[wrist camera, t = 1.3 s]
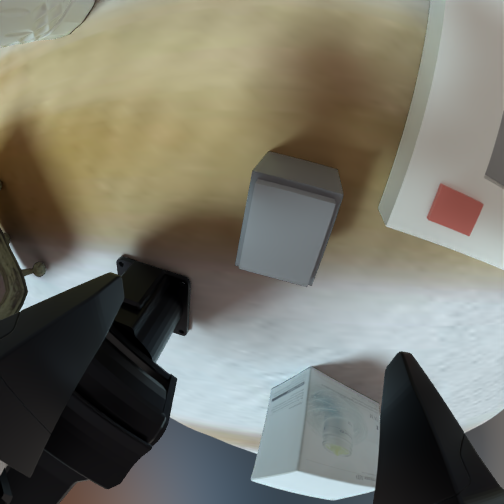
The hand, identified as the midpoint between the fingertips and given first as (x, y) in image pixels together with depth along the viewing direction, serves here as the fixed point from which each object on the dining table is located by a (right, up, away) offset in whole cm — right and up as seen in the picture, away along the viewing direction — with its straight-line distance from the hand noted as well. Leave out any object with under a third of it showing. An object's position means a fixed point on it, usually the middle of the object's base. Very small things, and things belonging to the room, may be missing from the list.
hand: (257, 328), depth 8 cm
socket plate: (+16, +9, +3) cm, 19 cm away
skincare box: (+8, -13, +18) cm, 24 cm away
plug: (+2, +5, +9) cm, 10 cm away
